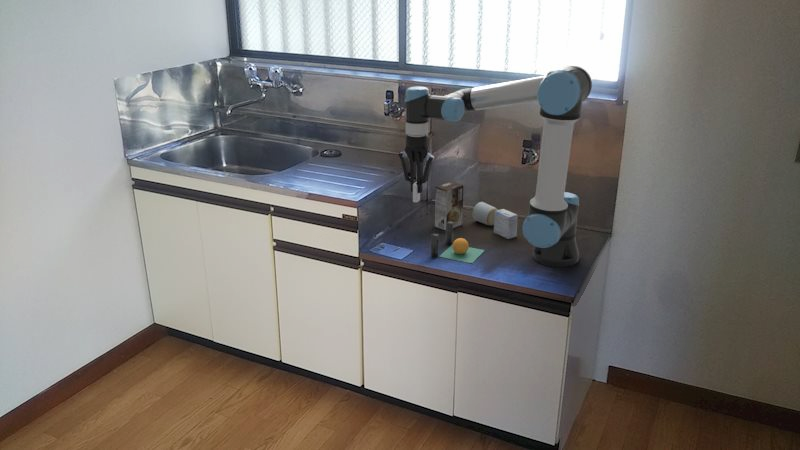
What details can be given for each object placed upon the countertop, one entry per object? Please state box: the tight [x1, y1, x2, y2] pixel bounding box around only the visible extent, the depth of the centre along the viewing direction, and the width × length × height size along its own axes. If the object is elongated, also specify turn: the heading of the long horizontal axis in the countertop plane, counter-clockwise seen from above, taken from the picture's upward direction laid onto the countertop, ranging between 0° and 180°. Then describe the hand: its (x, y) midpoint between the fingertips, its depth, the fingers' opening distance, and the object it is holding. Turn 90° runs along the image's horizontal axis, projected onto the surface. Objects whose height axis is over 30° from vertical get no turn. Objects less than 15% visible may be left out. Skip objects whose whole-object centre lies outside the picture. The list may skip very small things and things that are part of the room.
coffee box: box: [434, 180, 464, 231], centre depth 255 cm, size 9×6×16 cm
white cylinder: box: [472, 201, 499, 227], centre depth 260 cm, size 11×8×8 cm
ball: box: [453, 237, 470, 254], centre depth 233 cm, size 6×6×6 cm
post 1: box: [430, 232, 440, 259], centre depth 230 cm, size 3×3×8 cm
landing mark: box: [438, 244, 486, 264], centre depth 233 cm, size 12×12×1 cm
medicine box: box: [493, 208, 519, 240], centre depth 248 cm, size 8×4×9 cm, turn 34°
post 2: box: [445, 221, 454, 246], centre depth 240 cm, size 3×3×8 cm
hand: (416, 201), depth 235 cm, fingers closed
